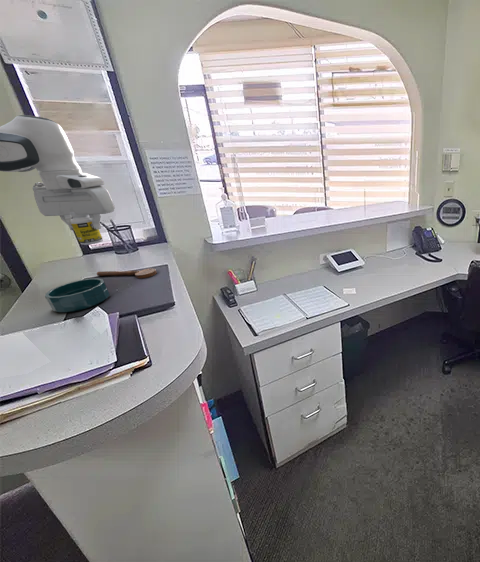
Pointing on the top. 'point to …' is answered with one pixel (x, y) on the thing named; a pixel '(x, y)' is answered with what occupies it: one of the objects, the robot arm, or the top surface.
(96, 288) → the bowl
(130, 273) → the spoon
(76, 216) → the supplement bottle
